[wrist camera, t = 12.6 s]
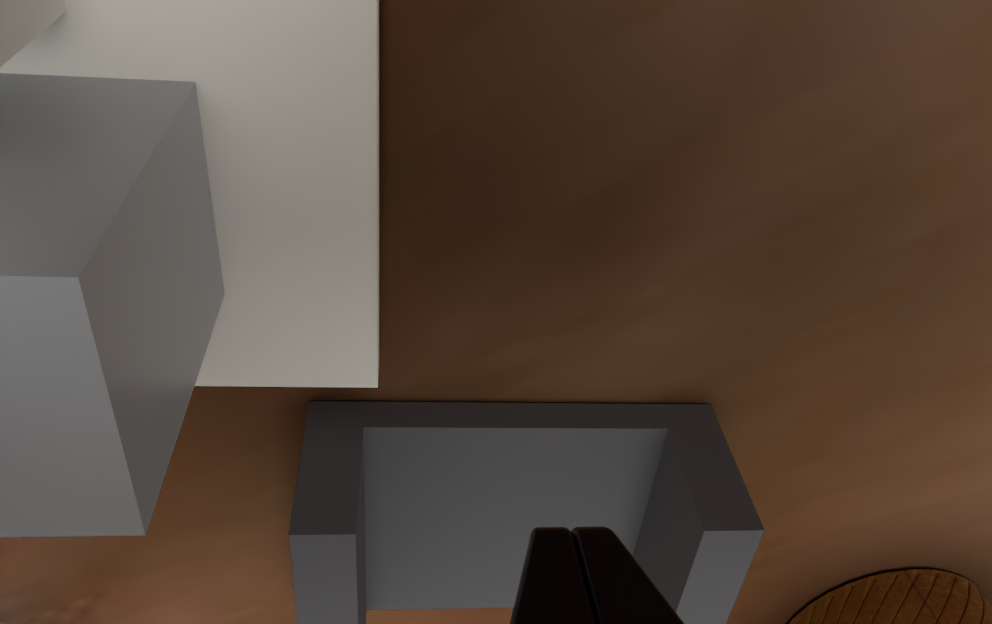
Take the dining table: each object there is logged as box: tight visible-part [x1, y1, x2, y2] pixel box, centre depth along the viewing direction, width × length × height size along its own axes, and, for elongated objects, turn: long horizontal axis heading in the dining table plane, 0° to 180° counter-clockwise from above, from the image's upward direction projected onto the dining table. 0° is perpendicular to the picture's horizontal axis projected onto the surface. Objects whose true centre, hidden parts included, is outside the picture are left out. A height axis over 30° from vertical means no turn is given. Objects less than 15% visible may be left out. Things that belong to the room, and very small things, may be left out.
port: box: [0, 0, 379, 388], centre depth 13 cm, size 10×8×4 cm
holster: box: [289, 401, 764, 624], centre depth 19 cm, size 9×6×4 cm
